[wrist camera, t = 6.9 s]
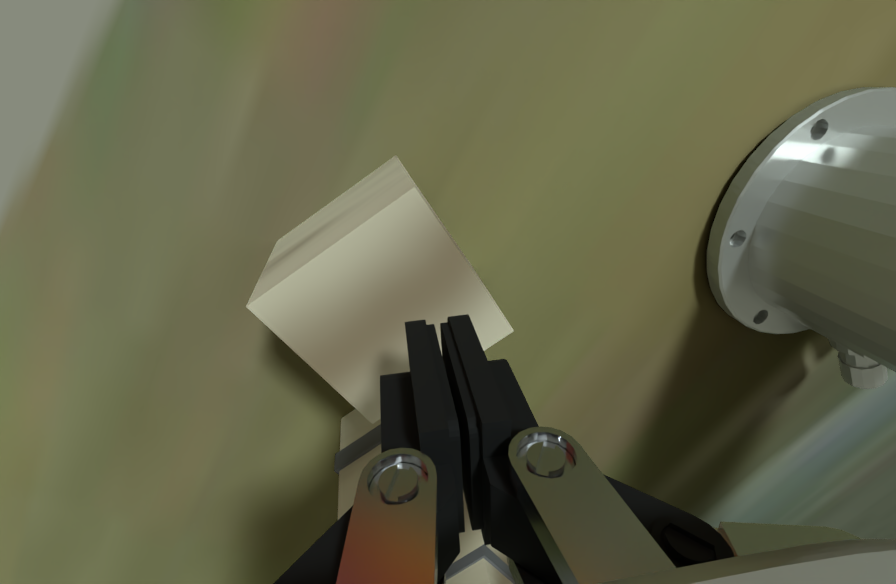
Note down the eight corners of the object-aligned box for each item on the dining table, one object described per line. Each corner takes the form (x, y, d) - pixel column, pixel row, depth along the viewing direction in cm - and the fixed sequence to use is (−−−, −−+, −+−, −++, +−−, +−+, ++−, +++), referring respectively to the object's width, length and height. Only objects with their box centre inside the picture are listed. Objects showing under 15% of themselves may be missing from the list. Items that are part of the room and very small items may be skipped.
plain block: (471, 265, 20) (514, 331, 15) (367, 336, 21) (372, 424, 15) (395, 154, 17) (414, 186, 12) (277, 239, 18) (246, 306, 13)
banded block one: (497, 421, 25) (536, 514, 19) (407, 479, 25) (421, 584, 20) (436, 350, 22) (464, 436, 16) (336, 417, 22) (331, 521, 17)
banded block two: (511, 529, 29) (547, 628, 24) (435, 576, 30) (453, 683, 24) (463, 482, 26) (492, 582, 21) (379, 535, 27) (386, 646, 22)
